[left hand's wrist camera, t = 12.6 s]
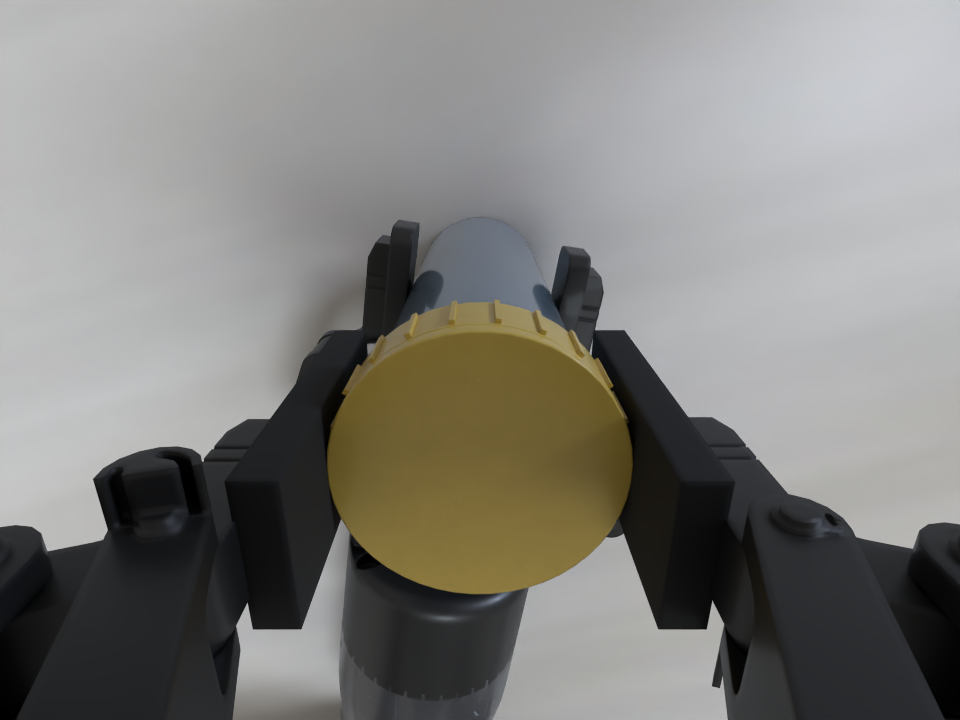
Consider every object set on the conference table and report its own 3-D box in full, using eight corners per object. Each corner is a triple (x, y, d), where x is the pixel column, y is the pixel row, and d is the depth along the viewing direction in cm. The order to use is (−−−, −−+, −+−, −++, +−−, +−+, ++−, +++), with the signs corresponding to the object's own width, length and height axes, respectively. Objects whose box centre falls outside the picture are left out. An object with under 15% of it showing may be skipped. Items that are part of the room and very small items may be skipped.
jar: (401, 260, 25) (292, 432, 11) (495, 193, 24) (518, 284, 10) (466, 347, 27) (449, 603, 12) (557, 288, 26) (658, 491, 11)
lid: (286, 397, 12) (255, 440, 10) (520, 239, 11) (528, 259, 9) (447, 577, 14) (442, 639, 12) (664, 459, 12) (692, 508, 11)
